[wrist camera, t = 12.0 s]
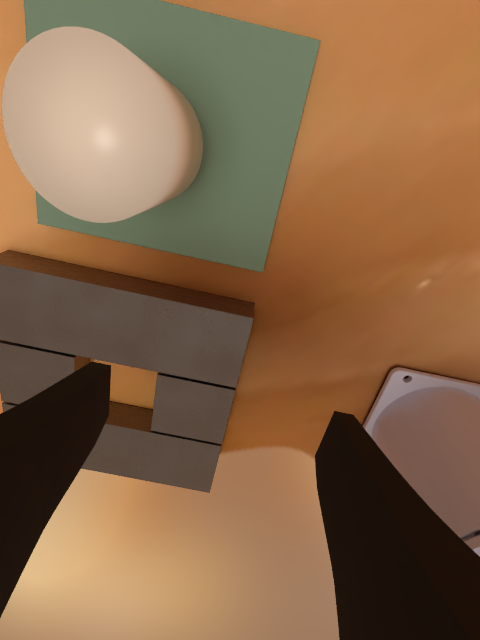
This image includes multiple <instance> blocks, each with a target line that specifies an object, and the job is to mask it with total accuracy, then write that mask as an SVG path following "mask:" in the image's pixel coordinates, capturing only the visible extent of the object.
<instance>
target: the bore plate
mask: <svg viewBox="0 0 480 640" xmlns="http://www.w3.org/2000/svg"><path fill="white" fill-rule="evenodd" d="M253 319H254V303H252V302H247V301H242V300H238V299H233V298H228V297H224V296H219V295H214V294H210V293H205V292H200V291H196V290H191V289H186V288H182V287H177V286H173V285H168V284H163V283H159V282H154V281H149V280H145V279H140V278H135V277H131V276H126V275H121V274H117V273H112V272H107V271H103V270H98V269H93V268H89V267H84V266H79V265H75V264H70V263H65V262H61V261H56V260H51V259H47V258H42V257H37V256H33V255H28V254H23V253H19V252H14V251H9V250H8V251H5V252H2V253H0V393H1V400H2V401H4V402H3V403H2V407H3V412H5V411H7V410H9V409H11V408H13V407H15V406H16V405H18V404H20V403H22V402H24V401H26V400H28V399H30V398H31V397H33V396H35V395H36V394H38V393H40V392H42V391H43V390H45V389H47V388H48V387H50V386H52V385H54V384H55V383H57V382H59V381H60V380H62V379H63V378H65V377H67V376H68V375H70V374H72V373H73V372H75V371H77V370H78V369H80V368H82V367H83V366H85V365H87V364H88V363H90V358H92V359H97V360H102V361H107V362H111V363H116V364H121V365H126V366H131V367H136V368H141V369H146V370H151V371H156V372H158V374H157V382H156V391H155V399H154V408H153V410H151V409H146V408H141V407H136V406H131V405H126V404H121V403H116V402H111V401H109V416H108V418H107V420H106V423H105V425H104V427H103V429H102V432H101V434H100V436H99V438H98V440H97V442H96V444H95V446H94V448H93V449H92V451H91V453H90V454H89V456H88V457H87V459H86V461H85V462H84V464H83V466H82V467H81V468H82V469H87V470H93V471H98V472H104V473H109V474H114V475H119V476H124V477H130V478H135V479H140V480H145V481H150V482H156V483H161V484H167V485H172V486H177V487H182V488H187V489H192V490H198V491H203V492H210V489H211V485H212V481H213V477H214V473H215V469H216V465H217V462H218V458H219V454H220V450H221V445H222V442H223V438H224V434H225V430H226V426H227V422H228V418H229V414H230V410H231V406H232V402H233V398H234V394H235V390H236V387H237V383H238V379H239V375H240V371H241V367H242V363H243V359H244V355H245V351H246V347H247V343H248V339H249V335H250V331H251V327H252V323H253Z"/></svg>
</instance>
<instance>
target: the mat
mask: <svg viewBox="0 0 480 640" xmlns="http://www.w3.org/2000/svg"><path fill="white" fill-rule="evenodd" d="M24 9H25V25H26V41H27V43H28V42H29V41H30V40H31V39H32V38H34V37H35V36H37V35H39V34H41V33H42V32H45V31H48V30H50V29H53V28H59V27H65V26H73V27H83V28H88V29H92V30H95V31H98V32H101V33H103V34H105V35H107V36H109V37H111V38H113V39H115V40H116V41H117V42H119V43H120V44H122V45H123V46H124V47H126V48H127V49H128V50H130V51H131V52H132V53H133V54H135V55H136V56H137V57H138V58H140V59H141V60H142V61H143V62H145V63H146V64H147V65H148V66H150V67H151V68H152V69H153V70H155V71H156V72H157V73H158V74H160V75H161V76H162V77H163V78H165V79H166V80H167V81H168V82H170V83H171V84H172V85H173V86H175V87H176V88H177V89H178V90H179V91H180V92H181V93H182V94H183V95H184V96H185V97H186V99H187V100H188V101H189V103H190V104H191V106H192V107H193V109H194V111H195V113H196V115H197V118H198V121H199V123H200V127H201V131H202V138H203V154H202V160H201V165H200V168H199V171H198V173H197V175H196V177H195V179H194V181H193V182H192V183H191V185H190V186H189V187H188V188H187V189H186V190H185V191H184V192H183V193H182V194H180V195H179V196H177V197H176V198H174V199H171V200H169V201H167V202H164V203H162V204H160V205H158V206H155V207H153V208H151V209H148V210H146V211H144V212H141V213H139V214H137V215H134V216H132V217H129V218H127V219H125V220H121V221H117V222H110V223H95V222H89V221H84V220H81V219H78V218H75V217H73V216H71V215H68V214H66V213H64V212H63V211H61V210H59V209H57V208H56V207H54V206H53V205H52V204H50V203H49V202H48V201H47V200H45V199H44V198H43V197H42V196H41V195H40V194H39V193H38V192H37V191H36V202H37V218H38V224H43V225H47V226H52V227H57V228H61V229H66V230H70V231H75V232H79V233H84V234H89V235H93V236H98V237H102V238H107V239H111V240H116V241H121V242H125V243H130V244H134V245H139V246H143V247H148V248H153V249H157V250H162V251H166V252H171V253H175V254H180V255H185V256H189V257H194V258H198V259H203V260H207V261H212V262H217V263H221V264H226V265H230V266H235V267H239V268H244V269H249V270H253V271H258V272H262V273H263V269H264V265H265V261H266V257H267V253H268V249H269V245H270V241H271V237H272V233H273V229H274V225H275V221H276V217H277V213H278V209H279V205H280V201H281V197H282V193H283V189H284V185H285V181H286V177H287V173H288V169H289V165H290V161H291V157H292V153H293V149H294V145H295V141H296V137H297V133H298V129H299V125H300V121H301V117H302V113H303V109H304V105H305V101H306V97H307V93H308V89H309V85H310V81H311V77H312V73H313V69H314V65H315V61H316V57H317V53H318V49H319V45H320V41H321V40H317V39H313V38H309V37H305V36H301V35H297V34H293V33H289V32H285V31H281V30H277V29H272V28H268V27H264V26H260V25H256V24H252V23H248V22H244V21H240V20H236V19H232V18H228V17H224V16H220V15H216V14H212V13H208V12H204V11H200V10H196V9H192V8H188V7H184V6H180V5H176V4H172V3H168V2H164V1H160V0H24Z"/></svg>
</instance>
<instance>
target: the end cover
mask: <svg viewBox="0 0 480 640" xmlns="http://www.w3.org/2000/svg"><path fill="white" fill-rule="evenodd" d="M2 116H3V124H4V129H5V133H6V138H7V141H8V144H9V147H10V150H11V152H12V154H13V156H14V159H15V161H16V163H17V165H18V166H19V168H20V170H21V171H22V173H23V175H24V176H25V177H26V179H27V180H28V182H29V183H30V184H31V185H32V186H33V188H34V189H35V190H36V191H37V192H38V193H39V194H40V195H41V196H42V197H43V198H44V199H45V200H47V201H48V202H49V203H50V204H52V205H53V206H54V207H56V208H57V209H59V210H61V211H63V212H64V213H66V214H68V215H71V216H73V217H75V218H78V219H81V220H84V221H89V222H95V223H110V222H117V221H121V220H125V219H127V218H129V217H132V216H134V215H137V214H139V213H141V212H144V211H146V210H148V209H151V208H153V207H155V206H158V205H160V204H162V203H164V202H167V201H169V200H171V199H174V198H176V197H177V196H179V195H180V194H182V193H183V192H184V191H185V190H186V189H187V188H188V187H189V186H190V185H191V183H192V182H193V181H194V179H195V177H196V175H197V173H198V171H199V168H200V165H201V160H202V154H203V138H202V131H201V127H200V123H199V121H198V118H197V115H196V113H195V111H194V109H193V107H192V106H191V104H190V103H189V101H188V100H187V99H186V97H185V96H184V95H183V94H182V93H181V92H180V91H179V90H178V89H177V88H176V87H175V86H173V85H172V84H171V83H170V82H168V81H167V80H166V79H165V78H163V77H162V76H161V75H160V74H158V73H157V72H156V71H155V70H153V69H152V68H151V67H150V66H148V65H147V64H146V63H145V62H143V61H142V60H141V59H140V58H138V57H137V56H136V55H135V54H133V53H132V52H131V51H130V50H128V49H127V48H126V47H124V46H123V45H122V44H120V43H119V42H117V41H116V40H115V39H113V38H111V37H109V36H107V35H105V34H103V33H101V32H98V31H95V30H92V29H88V28H83V27H73V26H65V27H59V28H53V29H50V30H48V31H45V32H42V33H41V34H39V35H37V36H35V37H34V38H32V39H31V40H30V41H29V42H28V43H26V44H25V45H24V46H23V47H22V49H21V50H20V51H19V52H18V54H17V55H16V57H15V58H14V60H13V62H12V63H11V65H10V68H9V70H8V73H7V75H6V79H5V83H4V88H3V96H2Z"/></svg>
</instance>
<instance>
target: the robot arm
mask: <svg viewBox="0 0 480 640" xmlns="http://www.w3.org/2000/svg"><path fill="white" fill-rule="evenodd" d="M405 376H409V377H408V378H406V379H403V378H404V377H405ZM110 377H111V365H106V364H101V363H96V362H90V363H88V364H87V365H85V366H83V367H82V368H80V369H78V370H77V371H75V372H73V373H72V374H70V375H68V376H67V377H65V378H63V379H62V380H60V381H59V382H57V383H55V384H54V385H52V386H50V387H48V388H47V389H45V390H43V391H42V392H40V393H38V394H36V395H35V396H33V397H31V398H30V399H28V400H26V401H24V402H22V403H20V404H18V405H16V406H15V407H13V408H11V409H9V410H7V411H5V412H3V413H1V414H0V617H1V615H2V613H3V611H4V609H5V607H6V605H7V603H8V600H9V598H10V596H11V594H12V592H13V590H14V588H15V586H16V584H17V582H18V580H19V578H20V576H21V573H22V571H23V569H24V568H25V566H26V564H27V562H28V559H29V558H30V556H31V554H32V552H33V549H34V548H35V546H36V544H37V542H38V540H39V538H40V535H41V534H42V532H43V530H44V528H45V526H46V525H47V523H48V521H49V519H50V518H51V516H52V514H53V512H54V511H55V509H56V508H57V506H58V504H59V503H60V501H61V499H62V498H63V496H64V495H65V493H66V491H67V490H68V488H69V487H70V485H71V483H72V482H73V480H74V479H75V477H76V475H77V473H78V472H79V470H80V469H81V467H82V466H83V464H84V462H85V461H86V459H87V457H88V456H89V454H90V453H91V451H92V449H93V448H94V446H95V444H96V442H97V440H98V438H99V436H100V434H101V432H102V429H103V427H104V425H105V423H106V420H107V418H108V416H109V401H110ZM315 463H316V478H317V490H318V495H319V501H320V507H321V512H322V517H323V523H324V528H325V533H326V538H327V543H328V549H329V554H330V559H331V564H332V571H333V578H334V585H335V595H336V605H337V615H338V626H339V637H340V640H480V384H477V383H472V382H467V381H463V380H458V379H453V378H448V377H444V376H439V375H434V374H429V373H425V372H420V371H415V370H410V369H406V368H401V367H397V368H394V369H392V370H391V371H390V373H389V375H388V377H387V379H386V381H385V383H384V385H383V387H382V389H381V391H380V393H379V395H378V397H377V399H376V401H375V403H374V405H373V407H372V409H371V411H370V413H369V415H368V417H367V419H366V421H365V423H364V425H363V426H362V425H361V424H360V423H359V421H358V420H357V419H356V418H355V417H354V415H351V414H346V413H342V412H337V411H334V414H333V416H332V418H331V420H330V423H329V425H328V427H327V430H326V432H325V434H324V437H323V439H322V441H321V443H320V446H319V448H318V450H317V453H316V455H315Z"/></svg>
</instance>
